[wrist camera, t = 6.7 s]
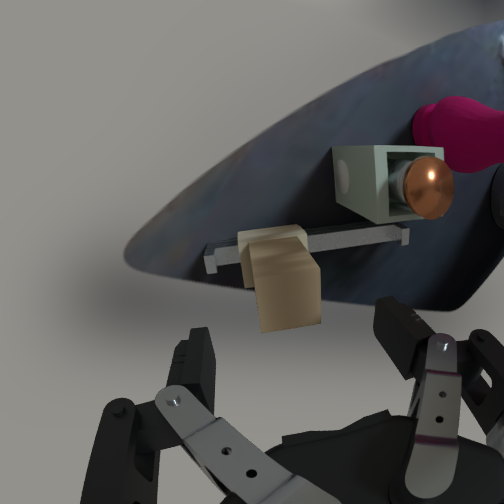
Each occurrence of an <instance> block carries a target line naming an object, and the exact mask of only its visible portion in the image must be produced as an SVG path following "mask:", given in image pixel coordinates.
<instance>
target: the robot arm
mask: <svg viewBox="0 0 504 504" xmlns="http://www.w3.org/2000/svg"><path fill="white" fill-rule="evenodd" d="M491 209H492V215H493V218H494V221H495V223H496V224H497V226H499V227H500V228H502V229H504V163H503V164H502V165H501V166H500V167H499V169H498V170H497V172H496V174H495V177H494V180H493V184H492V190H491ZM373 330H374V334H375V336H376V338H377V340H378V341H379V342H380V344H381V345H382V347H383V348H384V350H385V351H386V353H387V354H388V355H389V357H390V358H391V360H392V361H393V363H394V364H395V366H396V367H397V369H398V370H399V372H400V373H401V375H402V376H403V378H404V379H405V380H408V379H410V378H413V377H414V378H415V379H416V381H415V384H414V388H413V393H412V398H411V402H410V406H409V411H408V414H407V416H400V415H397V416H391V415H390V413H389V411H388V409H387V410H384V411H381V412H378V413H375V414H372V415H369V416H366V417H363V418H362V419H360V420H358V421H356V422H354V423H352V424H351V425H349V426H347V427H345V428H343V429H341V430H334V431H307V432H302V433H298V434H292V435H286V436H282V444H279V445H277V446H275V447H273V448H271V449H269V450H268V451H266V452H265V453H263V452H262V451H261V450H260V449H259V448H257V447H256V446H255V445H254V444H253V443H251V442H250V441H249V440H248V439H246V438H245V437H244V436H243V435H242V434H241V433H239V432H238V431H237V430H236V429H235V428H234V427H233V426H231V425H230V424H229V423H228V422H227V421H226V420H225V419H223V418H222V417H218V418H216V417H215V416H214V399H215V375H216V359H215V353H214V349H213V346H212V342H211V338H210V334H209V330H208V328H207V327H203V328H192V329H191V330H190V335H189V340H181V342H179V344H178V345H177V346H176V347H175V350H174V355H173V359H172V364H171V367H170V371H169V376H168V380H167V385H166V387H165V388H163V389H162V390H160V391H159V392H158V394H157V395H156V397H155V400H153V401H150V402H146V403H143V404H138V405H134V403H133V402H132V401H131V400H129V399H127V398H118V399H115V400H112V401H111V402H109V403H108V404H107V405H106V406H105V408H104V410H103V413H102V417H101V421H100V424H99V427H98V430H97V434H96V437H95V441H94V445H93V448H92V452H91V456H90V460H89V464H88V468H87V472H86V477H85V481H84V486H83V491H82V496H81V501H80V504H157V491H158V475H159V462H160V450H163V449H167V448H171V447H175V446H178V445H180V446H181V447H182V448H183V449H184V450H185V451H186V453H187V454H188V455H189V456H190V457H191V459H192V460H193V461H194V462H195V463H196V464H197V465H198V467H199V468H201V470H202V471H203V472H204V473H205V474H206V475H207V477H208V478H209V479H210V480H211V481H212V483H213V484H214V485H215V486H216V487H217V488H218V489H219V490H220V491H221V492H222V493H223V494H224V495H225V496H226V497H225V498H224V500H223V501H222V502H221V503H220V504H504V346H503V345H502V344H501V343H500V342H499V341H498V340H497V339H496V338H495V337H494V336H493V335H492V334H491V333H490V332H488V331H486V330H483V329H476V330H474V331H472V332H471V334H470V336H469V339H468V340H464V341H455V339H454V338H453V337H451V336H450V335H447V334H443V333H438V334H436V333H435V332H434V331H433V330H432V329H431V328H430V327H429V326H428V325H427V324H426V322H425V321H424V320H423V319H421V317H420V316H419V315H417V314H416V312H415V311H414V310H413V309H412V308H411V307H409V306H407V305H405V304H403V303H401V304H400V303H399V302H398V301H397V300H396V299H395V298H394V297H393V296H388V297H384V298H380V299H377V301H376V306H375V316H374V323H373ZM483 369H484V370H485V371H486V373H487V374H488V375H489V376H490V378H491V380H492V387H491V388H490V387H489V385H488V384H487V382H486V381H485V380H484V379H483V377H482V376H481V375H480V374H481V372H482V370H483ZM461 397H462V398H463V400H464V401H465V403H466V404H467V406H468V407H469V409H470V411H471V412H472V413H473V415H474V417H475V418H476V420H477V422H478V423H479V425H480V427H481V428H482V430H483V432H484V433H485V435H486V444H487V445H484V444H481V443H478V442H475V441H472V440H470V439H467V438H464V437H461V436H459V435H458V427H459V417H460V404H461Z"/></svg>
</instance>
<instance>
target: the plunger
mask: <svg viewBox="0 0 504 504" xmlns="http://www.w3.org/2000/svg"><path fill="white" fill-rule="evenodd" d="M387 168H388V192H389V198H391V199H394V200H397V201H399V202H402V203H405V204H407V206H408V207H409V209H410V210H411V211H412V212H413V213H415V214H417V215H419V216H421V217H423V218H426V219H436V218H439V217H441V216H442V215H443V214H444V213H445V212H446V211H447V210H448V208H449V207H450V205H451V202H452V199H453V195H454V180H453V175H452V173H451V170H450V168H449V167H448V165H447V164H446V163H445V162H444V161H443V160H441V159H439V158H437V157H429V156H422V157H418V158H416V159H415V160H413V161H409V160H400V159H390V158H387Z"/></svg>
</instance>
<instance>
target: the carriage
mask: <svg viewBox="0 0 504 504" xmlns="http://www.w3.org/2000/svg"><path fill="white" fill-rule="evenodd" d="M238 247H239V254H240V261H241V267H242V274H243V280H244V287H245V288H250V287H255V293H256V300H257V307H258V314H259V321H260V328H261V333H265V332H273V331H279V330H286V329H291V328H298V327H303V326H309V325H315V324H320V323H321V277H320V268H319V266H318V265H317V263H316V262H315V260H314V259H313V258H312V256H311V255H310V253H309V252H308V242H307V233H306V232H305V231H304V230H303V229H302V228H301V226H298V225H297V224H294V225H286V226H278V227H271V228H263V229H256V230H248V231H241V232H238Z"/></svg>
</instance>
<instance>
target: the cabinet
mask: <svg viewBox="0 0 504 504" xmlns="http://www.w3.org/2000/svg"><path fill="white" fill-rule="evenodd" d="M332 156H333V167H334V179H335V193H336V202H337V203H339V204H341V205H343V206H345V207H346V208H348V209H350V210H352V211H354V212H356V213H358V214H359V215H361V216H363V217H365V218H367V219H369V220H370V221H372V222H374V223H376V224H383V223H391V222H400V221H408V220H416V219H425V218H423V217H421V216H419V215H417V214H415V213H413V212H412V211H411V210H410V209H409V207H408V206H407V204H405V203H402V202H399V201H397V200H394V199H391V198H389V192H388V168H387V158H390V159H400V160H409V161H413V160H415V159H416V158H418V157H422V156H429V157H437V158H439V159H441V160H443V161H444V151H443V148H442V147H425V146H392V145H368V146H334V147H332ZM442 216H444V214H443V215H442ZM442 216H441V217H442Z"/></svg>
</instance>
